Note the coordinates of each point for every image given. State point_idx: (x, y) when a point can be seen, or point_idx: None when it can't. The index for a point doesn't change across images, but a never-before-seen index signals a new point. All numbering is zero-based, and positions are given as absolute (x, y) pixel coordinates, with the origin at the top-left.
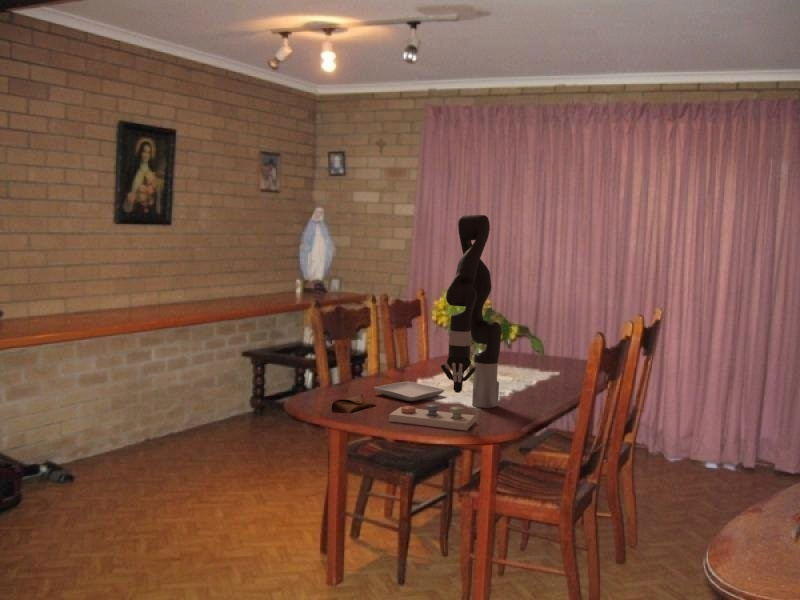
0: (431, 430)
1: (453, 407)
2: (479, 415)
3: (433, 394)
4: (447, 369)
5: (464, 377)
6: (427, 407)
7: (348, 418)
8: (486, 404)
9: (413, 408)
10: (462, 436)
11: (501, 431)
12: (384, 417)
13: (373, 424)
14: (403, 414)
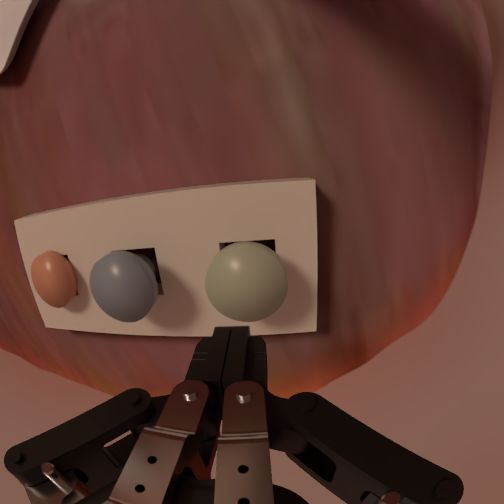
0: None
1: (218, 276)
2: (288, 49)
3: None
4: (77, 466)
5: (301, 464)
6: (114, 316)
7: (3, 326)
8: None
9: (62, 282)
10: (315, 376)
11: (428, 262)
12: (28, 282)
13: (57, 356)
14: (67, 314)
